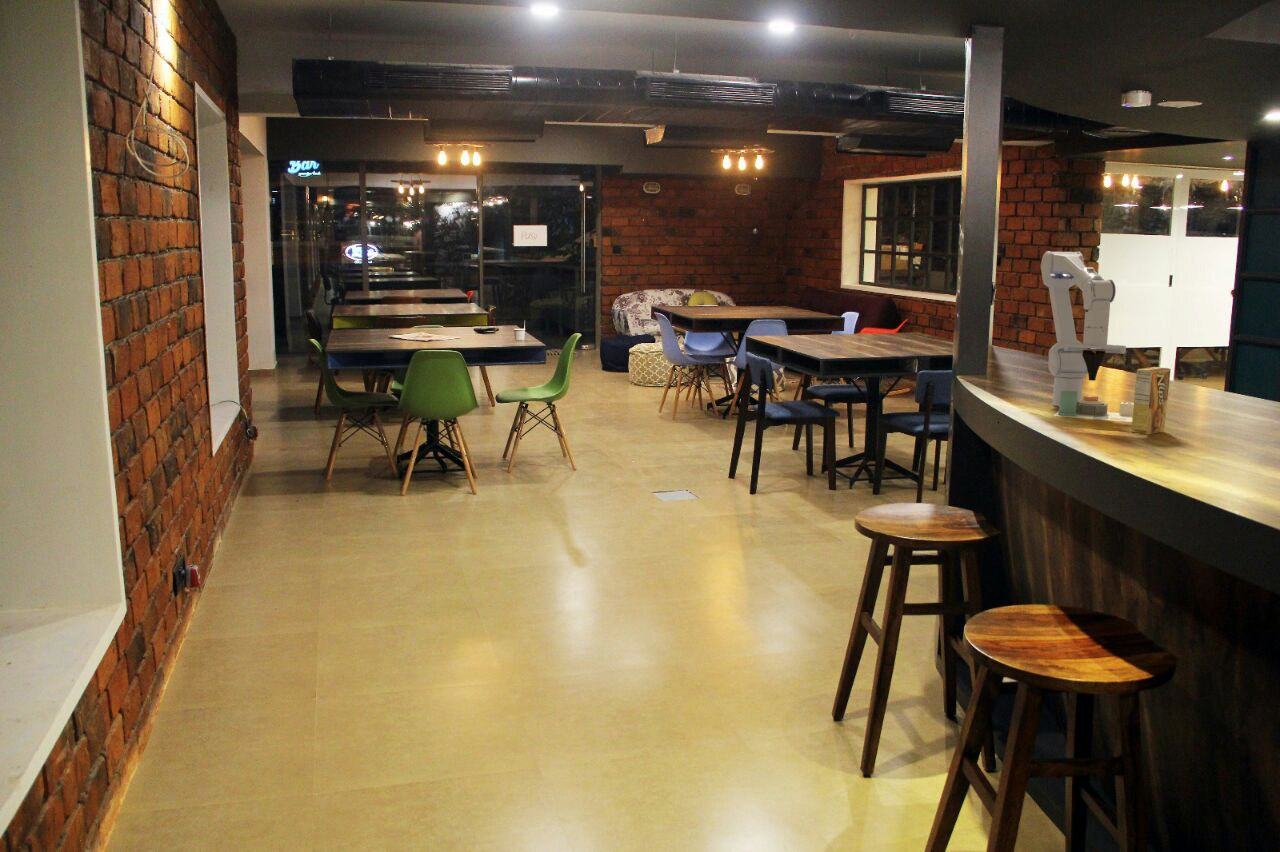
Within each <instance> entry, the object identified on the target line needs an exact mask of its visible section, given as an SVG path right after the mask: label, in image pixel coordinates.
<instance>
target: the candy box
mask: <svg viewBox="0 0 1280 852" xmlns="http://www.w3.org/2000/svg"><path fill="white" fill-rule="evenodd" d="M1171 369H1172V368H1168V367H1160V366H1159V367H1158V366H1153V367H1151V366H1150V367H1144V368H1143V367H1142V368H1137V369H1136V376H1135V377H1136V379H1135V389H1134V399H1133V403H1134V407H1133V418H1132V422H1131V430H1136V431H1131V432H1132V433H1131V434H1135V433H1140V434H1139V435H1143V434H1146V435H1145V436H1147V434H1149V435H1152V434H1158V433H1163V431H1164V432H1165V428H1166V418H1167V409H1168V400H1169V398H1168V397H1169V389H1170V380H1171V379H1170V378H1171ZM1137 431H1143V432H1137Z"/></svg>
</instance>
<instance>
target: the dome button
mask: <svg viewBox="0 0 1280 852" xmlns="http://www.w3.org/2000/svg"><path fill="white" fill-rule="evenodd" d="M1082 397H1083V398H1081V399H1079V404H1081V405H1092V406H1100V405H1102V403H1103V400H1101V399H1099V396H1097V395H1083V396H1082Z"/></svg>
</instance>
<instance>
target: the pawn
mask: <svg viewBox="0 0 1280 852" xmlns="http://www.w3.org/2000/svg"><path fill="white" fill-rule="evenodd" d="M1076 404H1077V392H1076V391H1061V392H1060V406H1058V407H1059V408H1058V411H1059V412H1058V411H1057V412H1058V415H1062V416H1076V415H1077V413H1076Z"/></svg>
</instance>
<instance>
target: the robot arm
mask: <svg viewBox="0 0 1280 852" xmlns="http://www.w3.org/2000/svg"><path fill="white" fill-rule="evenodd" d="M1084 262H1085V259H1084V255H1083V254H1082V252H1081V251H1050V250H1046V251H1045V252H1044V253H1043V255H1042V259H1041V263H1040V270H1041V277H1042V282H1043V285H1044V286H1046V287H1047V288H1048V291H1049V298H1050V305H1051V310H1052V316H1053V317H1052V318H1053V323H1054V331H1055V336H1056V341H1057V342H1056V343H1054V345H1052V346H1051V347H1050V348H1049V351H1048V360H1047V362H1048V363H1047V368H1048V371H1049V372H1050V374H1051V375H1052V376H1053V377H1054V379H1053V389H1052V390H1053V392H1052V393H1053V394H1052V406H1055V407H1059V406H1060V392H1061V391H1076V392H1077V402H1079V399H1082V397H1083V396H1082V394H1083V383H1084V382H1083V381H1084V378H1086V375H1088V381H1092V382H1093V381H1094V382H1095V381H1096V379H1097V376H1098V372H1099V369H1100V368H1101V365H1102V363H1103V361H1104V359H1105V357H1106V356H1107V354H1108V353H1109V354H1122V355H1124V354H1126V350H1127V345H1119V344H1108V335H1109V322H1110V310H1111V303H1112V302H1114V300H1115V298H1116V297H1115V296H1116V291H1117V290H1116V283H1115V282H1114V281H1113V279H1107V280H1105V278H1103V277H1102V276H1101V275H1100V274H1099V273H1098V272H1097V271H1096V270H1095V267H1092V266H1091V267H1090V266H1088V267H1087V266H1086V265H1085V263H1084ZM1073 286H1077V287H1078V288H1079V289H1080V291H1082V293H1081V295H1082V299H1083V309H1084V311H1085V314H1084V324H1083V325H1084V326H1083V338H1082V339H1083V341H1082V342H1081V341H1079V340H1078V339H1077V334H1076V333H1077V332H1076V328H1075V322H1074V316H1073V308H1072V303H1071V297H1070V292H1069V289H1070V288H1071V287H1073Z"/></svg>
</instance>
